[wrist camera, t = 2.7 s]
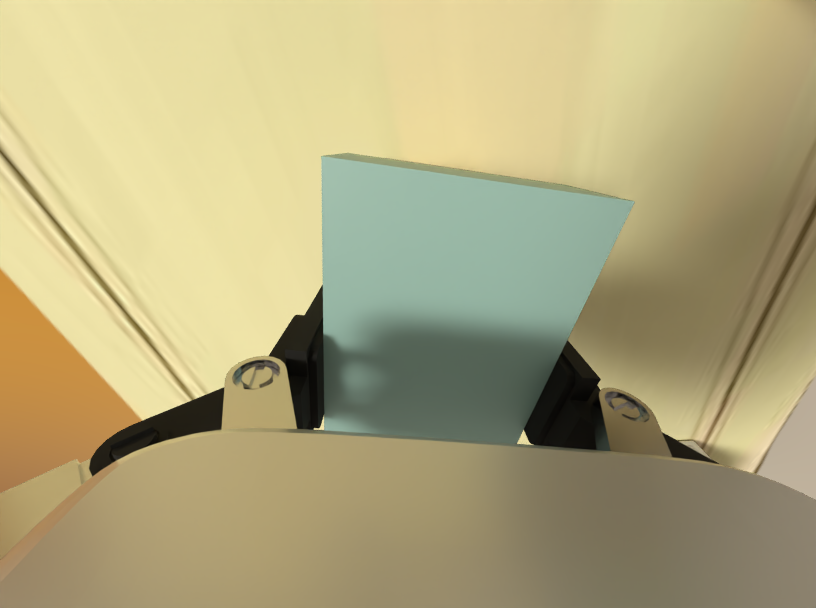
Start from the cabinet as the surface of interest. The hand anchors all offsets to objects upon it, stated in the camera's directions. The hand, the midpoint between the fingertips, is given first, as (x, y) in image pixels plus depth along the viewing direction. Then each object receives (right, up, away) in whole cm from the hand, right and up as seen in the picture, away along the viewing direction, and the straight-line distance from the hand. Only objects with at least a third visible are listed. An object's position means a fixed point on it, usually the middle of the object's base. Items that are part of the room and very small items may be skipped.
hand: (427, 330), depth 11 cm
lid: (0, 0, 0) cm, 0 cm away
